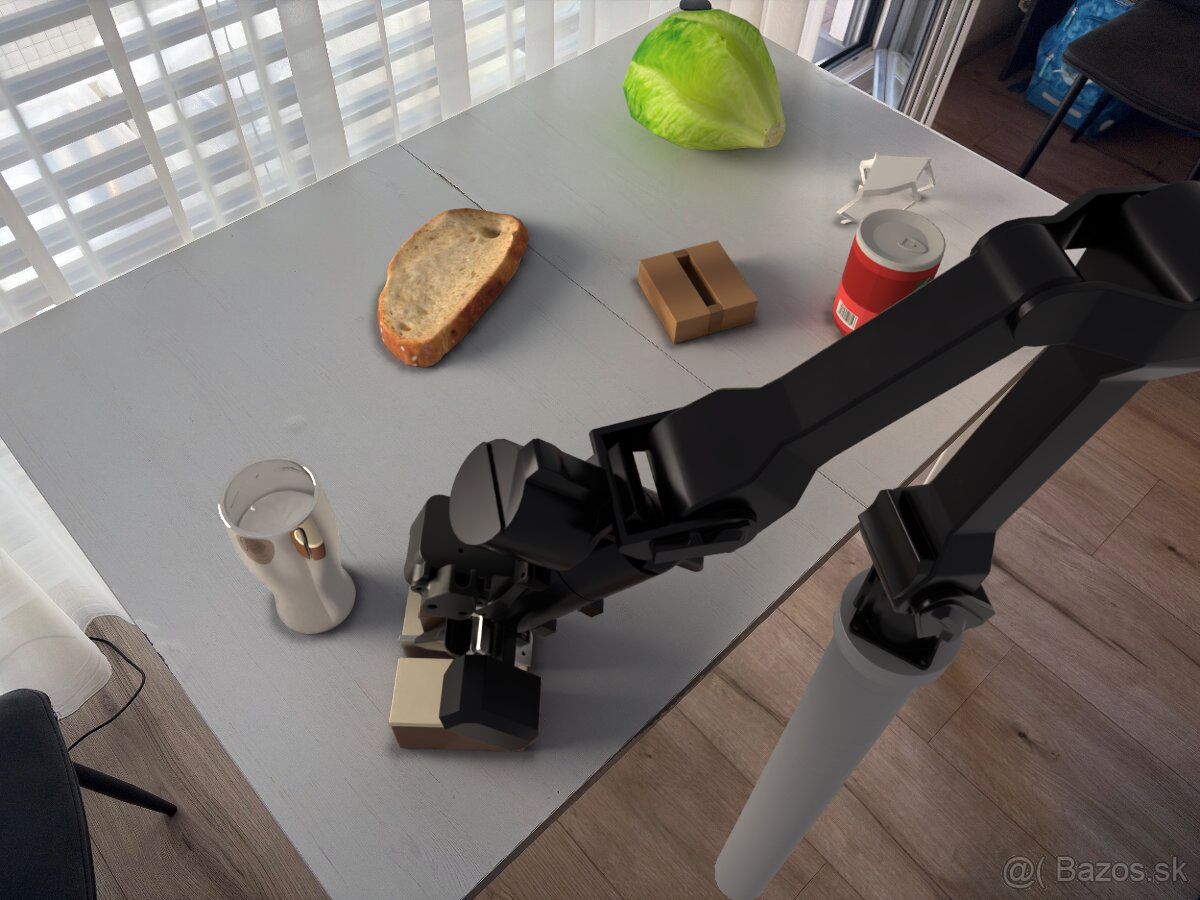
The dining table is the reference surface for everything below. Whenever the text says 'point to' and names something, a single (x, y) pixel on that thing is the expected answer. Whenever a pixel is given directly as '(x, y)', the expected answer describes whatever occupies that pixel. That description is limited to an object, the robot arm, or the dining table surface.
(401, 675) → the beige twin blocks
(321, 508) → the beer glass
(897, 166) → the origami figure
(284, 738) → the dining table surface
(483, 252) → the slice of bread
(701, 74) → the lettuce
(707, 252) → the cardboard box
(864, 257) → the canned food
